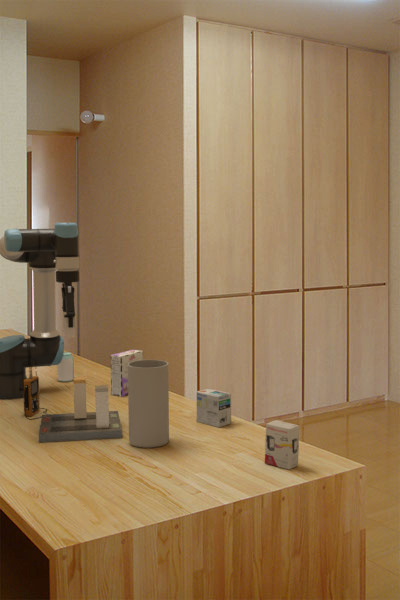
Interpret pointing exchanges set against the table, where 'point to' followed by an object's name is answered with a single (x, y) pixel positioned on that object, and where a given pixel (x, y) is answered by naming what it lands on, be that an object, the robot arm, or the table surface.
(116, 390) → the candy box
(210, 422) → the light bulb box
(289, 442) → the ink box
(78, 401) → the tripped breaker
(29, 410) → the multimeter
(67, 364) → the can
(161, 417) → the cylinder vase
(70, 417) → the dual slider panel
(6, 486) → the table surface
